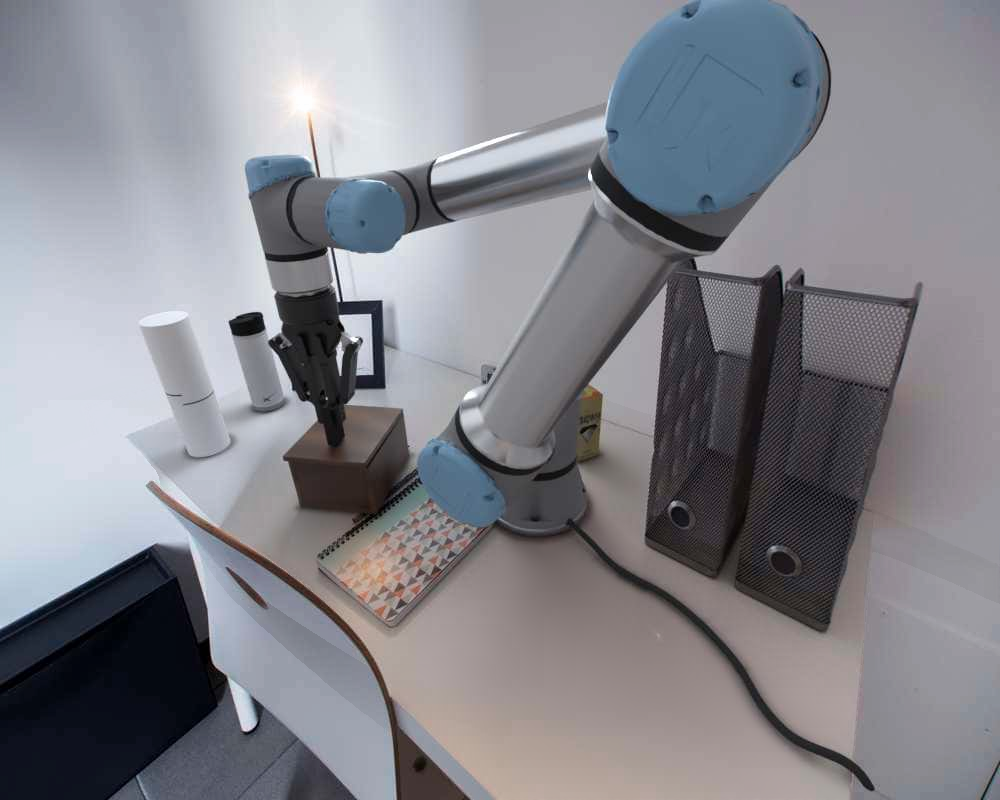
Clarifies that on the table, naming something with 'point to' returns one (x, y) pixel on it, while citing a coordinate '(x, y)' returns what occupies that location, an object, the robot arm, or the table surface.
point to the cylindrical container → (185, 381)
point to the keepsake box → (353, 478)
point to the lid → (347, 438)
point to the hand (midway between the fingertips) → (336, 440)
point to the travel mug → (257, 361)
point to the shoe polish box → (589, 423)
